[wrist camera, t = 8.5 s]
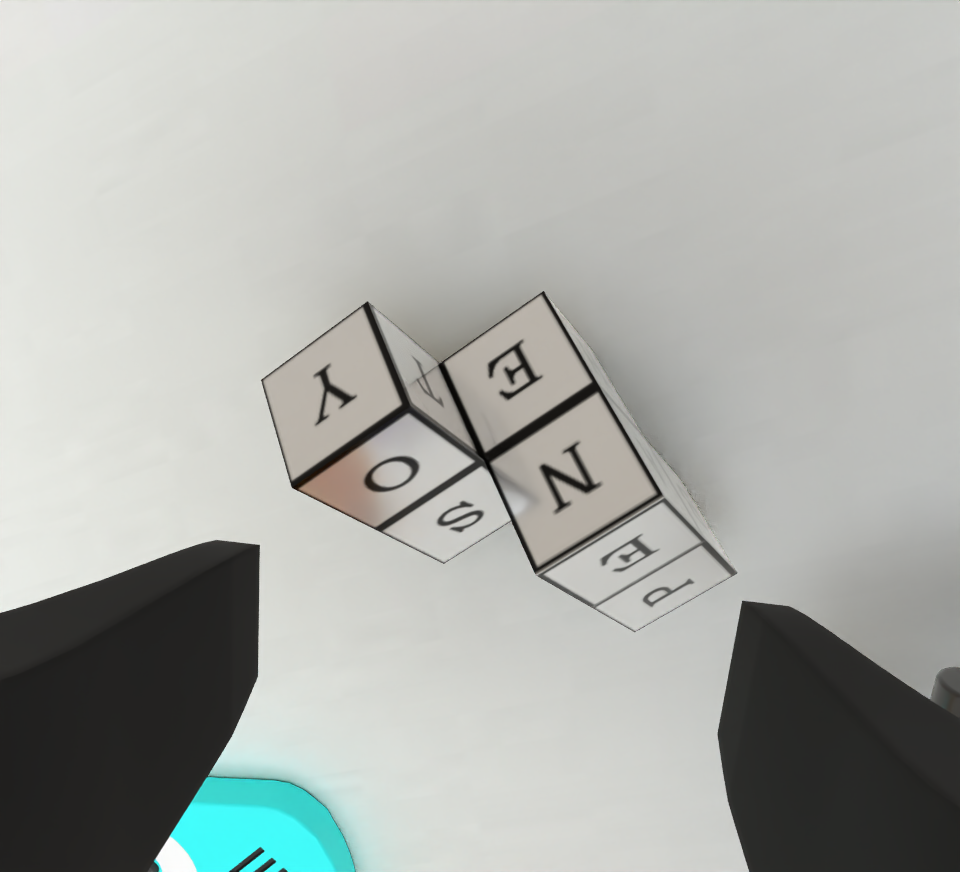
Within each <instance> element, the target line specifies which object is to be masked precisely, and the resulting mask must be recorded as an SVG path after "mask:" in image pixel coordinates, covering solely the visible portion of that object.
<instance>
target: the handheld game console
mask: <svg viewBox="0 0 960 872" xmlns="http://www.w3.org/2000/svg"><path fill="white" fill-rule="evenodd" d="M148 872H355V868H354V864H353V861H352V857H351V854H350V852H349V849H348V847H347V844H346V842H345V840H344V837H343V835H342V833H341V832H340V830H339V828H338V827H337V825H336V823H335V822H334V820H333V818H332V816H331V815H330V813H329V811H328V809H327V808H326V807H324V806H323V805H322V804H321V803H320V802H318V801H317V800H316V799H315V798H314V797H312V796H311V795H310V794H309V793H307V792H306V791H305V790H303V789H301V788H299V787H297V786H295V785H293V784H291V783H286V782H281V781H276V780H259V779H237V778H215V777H207V778H206V779H205V781H204V783H203V784H202V786H201V787H200V789H199V791H198V792H197V794H196V795H195V797H194V799H193V800H192V802H191V803H190V805H189V807H188V808H187V810H186V811H185V813H184V814H183V816H182V818H181V819H180V821H179V822H178V824H177V826H176V827H175V829H174V830H173V832H172V834H171V835H170V837H169V838H168V840H167V842H166V843H165V845H164V846H163V848H162V849H161V851H160V853H159V854H158V856H157V857H156V859H155V861H154V862H153V864H152V865H151V867H150V869H149V870H148Z"/></svg>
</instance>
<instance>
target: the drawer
mask: <svg viewBox="0 0 960 872" xmlns="http://www.w3.org/2000/svg"><path fill="white" fill-rule="evenodd" d="M930 700H931V701H933V702H934V703H936V704H937V705H939V706H941V707H942V708H944V709H946V710H947V711H949V712H950V713H952V714H954V715H955V716H957V717H958V718H960V667H949V668H945V669H942V670H941V671H940V672H939V673H938V674H937V676H936V680H935V684H934V687H933V691H932V695H931V699H930Z"/></svg>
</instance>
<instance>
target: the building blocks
mask: <svg viewBox="0 0 960 872" xmlns="http://www.w3.org/2000/svg"><path fill="white" fill-rule="evenodd" d="M261 381H262V385H263V388H264V392H265V395H266V399H267V402H268V406H269V409H270V413H271V416H272V420H273V423H274V427H275V430H276V434H277V437H278V441H279V444H280V448H281V451H282V455H283V458H284V462H285V465H286V469H287V472H288V476H289V479H290V483H291V486H292V488H293V489H295V490H297V491H299V492H301V493H303V494H305V495H307V496H309V497H311V498H313V499H315V500H317V501H319V502H321V503H323V504H325V505H327V506H329V507H331V508H333V509H335V510H337V511H339V512H341V513H343V514H345V515H347V516H349V517H351V518H353V519H355V520H357V521H359V522H361V523H363V524H365V525H367V526H369V527H371V528H373V529H375V530H377V531H379V532H381V533H383V534H385V535H387V536H389V537H391V538H393V539H395V540H397V541H399V542H401V543H403V544H405V545H407V546H409V547H411V548H413V549H415V550H417V551H419V552H421V553H423V554H425V555H427V556H429V557H431V558H433V559H435V560H437V561H439V562H441V563H443V564H444V563H446V562H447V561H449V560H450V559H452V558H454V557H455V556H457V555H458V554H460V553H462V552H463V551H465V550H466V549H468V548H469V547H471V546H473V545H474V544H476V543H477V542H479V541H481V540H482V539H484V538H485V537H487V536H488V535H490V534H492V533H493V532H495V531H496V530H498V529H499V528H501V527H503V526H504V525H506V524H507V523H509V522H511V521H512V524H513V526H514V528H515V530H516V532H517V535H518V537H519V539H520V541H521V543H522V546H523V548H524V550H525V552H526V555H527V557H528V559H529V561H530V563H531V566H532V568H533V570H534V572H535V574H536V576H538V577H540V578H541V579H543V580H545V581H547V582H548V583H550V584H552V585H554V586H555V587H557V588H559V589H561V590H562V591H564V592H566V593H567V594H569V595H571V596H573V597H574V598H576V599H578V600H580V601H581V602H583V603H585V604H587V605H588V606H590V607H592V608H594V609H595V610H597V611H599V612H601V613H602V614H604V615H606V616H607V617H609V618H611V619H613V620H614V621H616V622H618V623H620V624H621V625H623V626H625V627H627V628H628V629H630V630H632V631H634V632H636V631H638V630H640V629H641V628H643V627H645V626H646V625H648V624H650V623H652V622H653V621H655V620H657V619H659V618H660V617H662V616H664V615H666V614H667V613H669V612H671V611H673V610H674V609H676V608H678V607H680V606H681V605H683V604H685V603H687V602H688V601H690V600H692V599H694V598H695V597H697V596H699V595H701V594H702V593H704V592H706V591H708V590H709V589H711V588H713V587H714V586H716V585H718V584H720V583H721V582H723V581H725V580H727V579H728V578H730V577H732V576H734V575H735V574H737V571H736V570H735V568H734V566H733V565H732V563H731V561H730V560H729V558H728V556H727V555H726V553H725V552H724V550H723V548H722V547H721V545H720V543H719V542H718V540H717V538H716V537H715V535H714V533H713V532H712V530H711V528H710V527H709V525H708V524H707V522H706V520H705V519H704V517H703V515H702V514H701V512H700V510H699V509H698V507H697V505H696V504H695V502H694V500H693V499H692V497H691V496H690V494H689V492H688V491H687V489H686V487H685V486H684V484H683V482H682V481H681V479H680V478H679V477H678V475H677V474H676V473H675V472H674V471H673V470H672V469H671V467H670V466H669V465H668V464H667V463H666V462H665V461H664V459H663V458H662V457H661V456H660V455H659V454H658V452H657V451H656V450H655V449H654V448H653V447H652V446H651V444H650V443H649V442H648V441H647V440H646V439H645V438H644V436H643V434H642V433H641V431H640V429H639V428H638V426H637V424H636V423H635V421H634V419H633V418H632V416H631V414H630V413H629V411H628V409H627V408H626V406H625V404H624V403H623V401H622V399H621V398H620V396H619V394H618V393H617V391H616V389H615V388H614V386H613V384H612V383H611V381H610V379H609V377H608V376H607V374H606V372H605V371H604V369H603V367H602V366H601V364H600V362H599V361H598V359H597V357H596V356H595V354H594V352H593V351H592V349H591V348H590V347H589V346H588V344H587V343H586V342H585V341H584V339H583V338H582V337H581V336H580V335H579V333H578V332H577V331H576V330H575V328H574V327H573V326H572V325H571V324H570V322H569V321H568V320H567V319H566V317H565V316H564V315H563V314H562V313H561V311H560V310H559V309H558V308H557V307H556V305H555V304H554V303H553V302H552V300H551V299H550V298H549V297H548V296H547V294H546V293H545V292H544V291H543V292H542V293H540V294H539V295H537V296H536V297H534V298H533V299H532V300H530V301H529V302H527V303H526V304H524V305H523V306H522V307H520V308H519V309H517V310H516V311H514V312H513V313H512V314H510V315H509V316H507V317H506V318H504V319H503V320H502V321H500V322H499V323H497V324H496V325H494V326H493V327H492V328H490V329H489V330H487V331H486V332H484V333H483V334H482V335H480V336H479V337H477V338H476V339H474V340H473V341H472V342H470V343H469V344H467V345H466V346H464V347H463V348H462V349H460V350H459V351H457V352H456V353H454V354H453V355H452V356H450V357H449V358H447V359H446V360H444V361H443V362H442V363H439V362H438V361H437V360H435V359H434V358H433V357H432V356H431V355H430V354H428V353H427V352H426V351H425V350H424V349H423V348H421V347H420V346H419V345H418V344H417V343H416V342H414V341H413V340H412V339H411V338H410V337H409V336H408V335H406V334H405V333H404V332H403V331H402V330H401V329H399V328H398V327H397V326H396V325H395V324H394V323H392V322H391V321H390V320H389V319H388V318H387V317H385V316H384V315H383V314H382V313H381V312H380V311H378V310H377V309H376V308H375V307H374V306H373V305H371V304H370V303H369V302H368V301H367V302H366V303H365V304H363V305H362V306H361V307H359V308H358V309H357V310H355V311H354V312H353V313H351V314H350V315H349V316H347V317H346V318H344V319H343V320H342V321H340V322H339V323H338V324H336V325H335V326H334V327H332V328H331V329H330V330H328V331H327V332H325V333H324V334H323V335H321V336H320V337H319V338H317V339H316V340H315V341H313V342H312V343H311V344H309V345H308V346H307V347H305V348H304V349H302V350H301V351H300V352H298V353H297V354H296V355H294V356H293V357H292V358H290V359H289V360H288V361H286V362H285V363H283V364H282V365H281V366H279V367H278V368H277V369H275V370H274V371H273V372H271V373H270V374H269V375H267V376H266V377H265V378H263V379H262V380H261Z"/></svg>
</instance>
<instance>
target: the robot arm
mask: <svg viewBox="0 0 960 872" xmlns="http://www.w3.org/2000/svg"><path fill="white" fill-rule="evenodd" d="M259 557H260V545H255V544H246V543H237V542H229V541H220V540H215V541H210V542H205V543H202V544H198V545H195V546H192V547H189V548H186V549H183V550H180V551H178V552H175V553H172V554H169V555H167V556H164V557H161V558H159V559H156V560H153V561H151V562H148V563H146V564H143V565H140V566H138V567H135V568H132V569H130V570H127V571H125V572H122V573H119V574H117V575H114V576H111V577H109V578H106V579H103V580H101V581H98V582H95V583H92V584H89V585H86V586H83V587H80V588H77V589H74V590H71V591H68V592H65V593H62V594H60V595H57V596H54V597H51V598H48V599H45V600H42V601H39V602H36V603H33V604H30V605H26V606H23V607H20V608H16V609H13V610H9V611H6V612H2V613H0V872H148V870H149V869H150V867H151V865H152V864H153V862H154V861H155V859H156V857H157V856H158V854H159V853H160V851H161V849H162V848H163V846H164V845H165V843H166V842H167V840H168V838H169V837H170V835H171V834H172V832H173V830H174V829H175V827H176V826H177V824H178V822H179V821H180V819H181V818H182V816H183V814H184V813H185V811H186V810H187V808H188V807H189V805H190V803H191V802H192V800H193V799H194V797H195V795H196V794H197V792H198V791H199V789H200V787H201V786H202V784H203V783H204V781H205V779H206V778H207V776H208V775H209V773H210V771H211V770H212V768H213V766H214V765H215V763H216V762H217V760H218V758H219V757H220V755H221V753H222V752H223V750H224V748H225V747H226V745H227V743H228V742H229V740H230V738H231V737H232V735H233V733H234V730H235V728H236V726H237V724H238V722H239V719H240V717H241V715H242V713H243V711H244V708H245V706H246V704H247V701H248V699H249V696H250V694H251V692H252V689H253V687H254V684H255V682H256V680H257V677H258V631H259ZM718 741H719V747H720V754H721V761H722V768H723V774H724V780H725V786H726V792H727V798H728V802H729V806H730V809H731V813H732V816H733V820H734V823H735V826H736V830H737V833H738V836H739V839H740V843H741V846H742V849H743V853H744V856H745V859H746V862H747V866H748V869H749V872H960V718H958V717H957V716H955V715H954V714H952V713H950V712H949V711H947V710H946V709H944V708H942V707H941V706H939V705H937V704H936V703H934V702H933V701H931V700H929V699H928V698H926V697H925V696H923V695H922V694H920V693H918V692H917V691H915V690H914V689H912V688H911V687H909V686H908V685H906V684H905V683H903V682H902V681H900V680H899V679H897V678H896V677H894V676H893V675H892V674H890V673H889V672H887V671H886V670H884V669H883V668H881V667H880V666H878V665H877V664H876V663H874V662H873V661H871V660H870V659H868V658H867V657H866V656H864V655H863V654H861V653H860V652H858V651H857V650H856V649H854V648H853V647H851V646H850V645H849V644H847V643H846V642H844V641H843V640H841V639H840V638H839V637H837V636H836V635H834V634H833V633H832V632H830V631H829V630H827V629H826V628H824V627H823V626H821V625H820V624H818V623H817V622H815V621H814V620H812V619H811V618H809V617H808V616H806V615H805V614H803V613H801V612H799V611H798V610H796V609H794V608H792V607H790V606H782V605H774V604H765V603H757V602H748V601H742V605H741V611H740V616H739V622H738V627H737V632H736V638H735V643H734V648H733V654H732V659H731V664H730V670H729V675H728V681H727V686H726V691H725V697H724V702H723V707H722V713H721V718H720V723H719V729H718Z"/></svg>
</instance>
